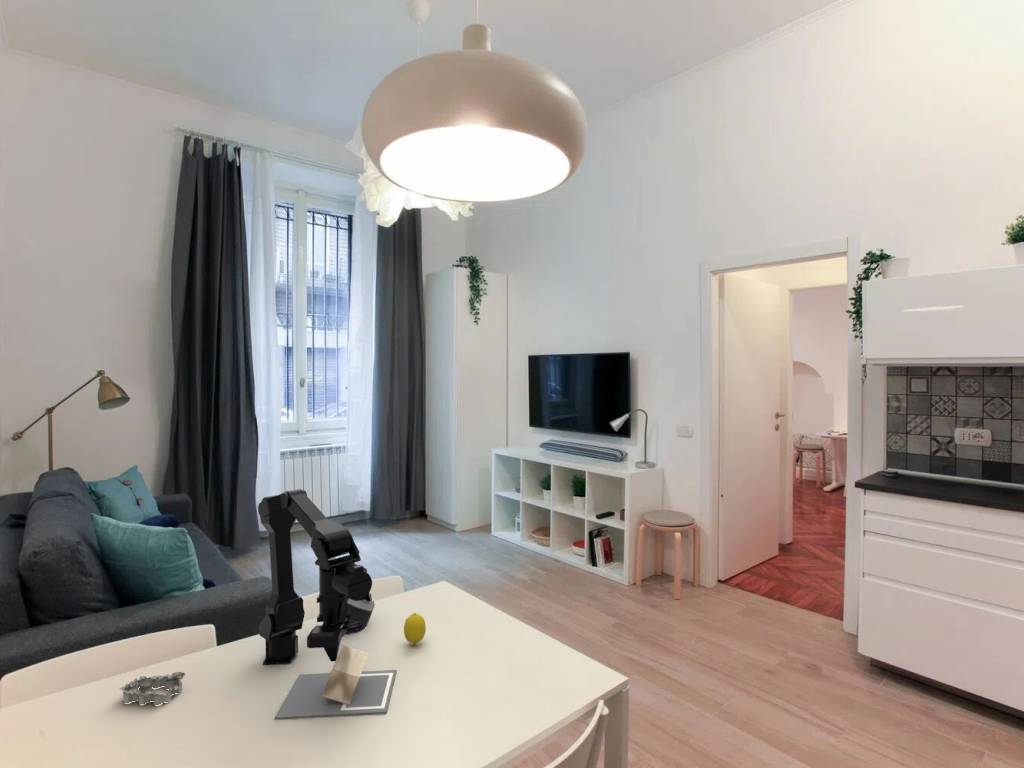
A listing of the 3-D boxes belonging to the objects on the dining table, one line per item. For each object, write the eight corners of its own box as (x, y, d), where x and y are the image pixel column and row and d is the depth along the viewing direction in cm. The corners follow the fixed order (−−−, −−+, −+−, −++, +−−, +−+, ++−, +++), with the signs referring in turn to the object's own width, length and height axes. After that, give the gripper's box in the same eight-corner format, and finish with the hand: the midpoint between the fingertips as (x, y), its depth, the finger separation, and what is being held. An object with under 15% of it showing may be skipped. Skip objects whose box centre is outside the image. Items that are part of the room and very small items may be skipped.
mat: (274, 719, 109) (274, 717, 109) (299, 676, 125) (299, 674, 125) (386, 713, 111) (386, 711, 111) (396, 671, 127) (396, 669, 127)
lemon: (421, 650, 136) (421, 618, 136) (400, 648, 138) (400, 616, 138) (428, 640, 142) (428, 609, 142) (408, 638, 143) (408, 607, 143)
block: (331, 668, 113) (359, 677, 113) (342, 645, 123) (368, 653, 123) (321, 696, 112) (349, 704, 113) (333, 670, 122) (358, 678, 123)
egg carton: (188, 690, 120) (188, 671, 120) (161, 710, 112) (161, 690, 112) (144, 685, 121) (144, 667, 121) (115, 705, 114) (115, 686, 114)
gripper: (363, 604, 109) (363, 682, 109) (378, 572, 127) (378, 638, 127) (305, 606, 108) (306, 685, 108) (329, 573, 126) (330, 640, 126)
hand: (333, 660), depth 117 cm, fingers closed, pressing on block
